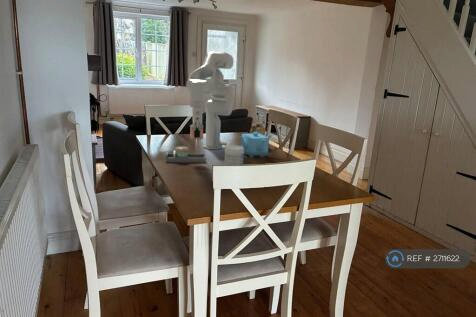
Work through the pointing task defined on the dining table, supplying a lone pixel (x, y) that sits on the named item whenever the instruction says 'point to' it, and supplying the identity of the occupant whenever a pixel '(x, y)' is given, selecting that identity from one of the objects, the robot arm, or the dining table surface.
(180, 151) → the sage jar
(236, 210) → the dining table surface
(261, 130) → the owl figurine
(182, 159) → the tray
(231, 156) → the supplement tub
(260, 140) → the teakettle
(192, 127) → the terracotta jar
